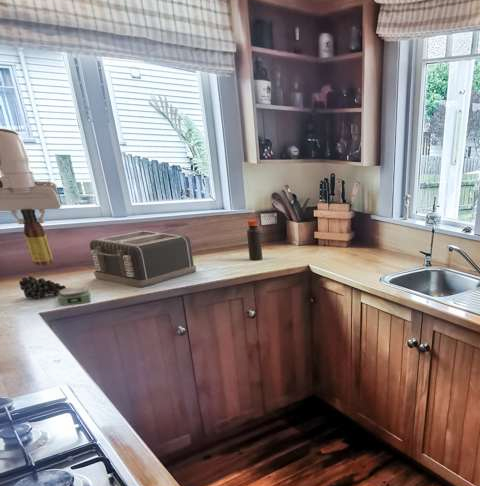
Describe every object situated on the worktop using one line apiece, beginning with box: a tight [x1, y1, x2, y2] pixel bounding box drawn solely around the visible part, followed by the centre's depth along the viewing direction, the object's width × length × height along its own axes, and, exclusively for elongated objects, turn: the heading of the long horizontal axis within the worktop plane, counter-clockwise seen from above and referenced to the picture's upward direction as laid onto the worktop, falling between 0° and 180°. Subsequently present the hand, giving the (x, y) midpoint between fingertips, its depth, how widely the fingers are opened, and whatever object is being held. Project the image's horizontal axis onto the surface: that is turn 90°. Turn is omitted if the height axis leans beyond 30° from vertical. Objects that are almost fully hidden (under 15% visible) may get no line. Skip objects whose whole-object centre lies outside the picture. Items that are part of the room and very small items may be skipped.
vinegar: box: [246, 219, 263, 261], centre depth 245 cm, size 7×7×20 cm
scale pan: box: [59, 286, 88, 296], centre depth 181 cm, size 9×9×1 cm
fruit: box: [18, 275, 67, 300], centre depth 184 cm, size 9×8×15 cm
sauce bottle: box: [20, 209, 54, 267], centre depth 166 cm, size 6×6×20 cm
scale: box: [57, 287, 92, 306], centre depth 181 cm, size 10×11×3 cm
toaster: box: [89, 230, 197, 289], centre depth 211 cm, size 30×36×17 cm
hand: (31, 223), depth 164 cm, fingers closed on sauce bottle, 4 cm apart
